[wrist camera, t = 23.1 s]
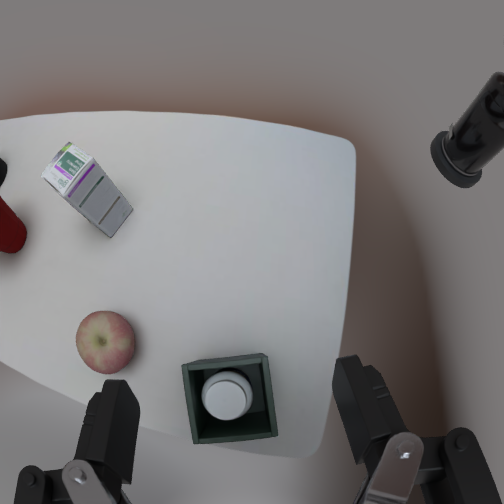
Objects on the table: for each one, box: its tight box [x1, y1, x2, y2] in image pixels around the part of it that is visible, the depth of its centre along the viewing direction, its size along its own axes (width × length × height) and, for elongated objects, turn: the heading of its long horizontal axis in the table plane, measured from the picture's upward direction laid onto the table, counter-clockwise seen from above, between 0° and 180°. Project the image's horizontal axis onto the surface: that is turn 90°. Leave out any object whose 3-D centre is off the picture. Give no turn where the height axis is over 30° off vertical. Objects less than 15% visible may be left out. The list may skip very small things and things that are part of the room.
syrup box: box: [41, 142, 133, 237], centre depth 36 cm, size 6×6×14 cm
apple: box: [76, 311, 135, 374], centre depth 34 cm, size 8×8×8 cm
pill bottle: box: [202, 367, 253, 420], centre depth 31 cm, size 5×5×10 cm
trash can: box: [182, 353, 278, 444], centre depth 31 cm, size 8×8×11 cm
